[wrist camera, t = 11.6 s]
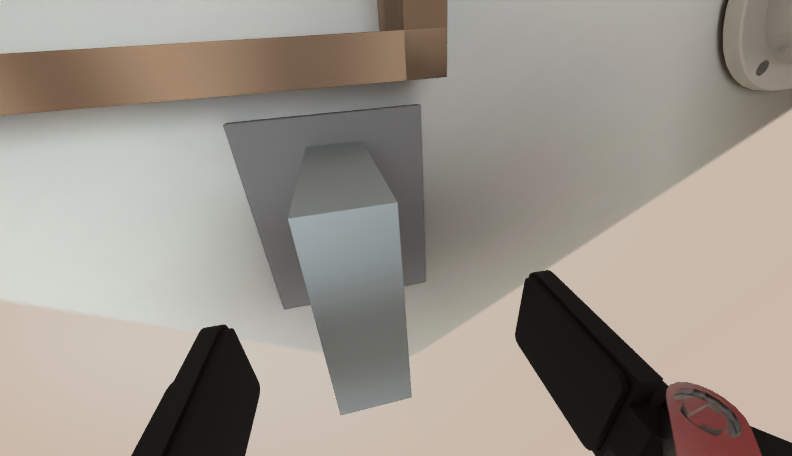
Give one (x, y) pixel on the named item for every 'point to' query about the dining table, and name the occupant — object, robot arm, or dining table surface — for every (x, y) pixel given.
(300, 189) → the block
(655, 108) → the dining table surface
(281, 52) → the tray
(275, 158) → the felt pad
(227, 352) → the robot arm
